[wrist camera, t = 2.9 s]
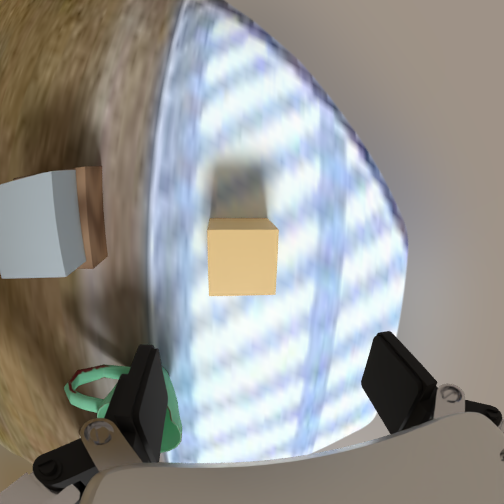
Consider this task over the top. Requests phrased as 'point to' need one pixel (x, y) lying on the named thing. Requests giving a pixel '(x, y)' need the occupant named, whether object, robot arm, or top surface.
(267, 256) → the ochre cube
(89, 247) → the walnut block
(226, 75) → the top surface
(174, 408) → the mug
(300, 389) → the top surface
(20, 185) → the slate block
